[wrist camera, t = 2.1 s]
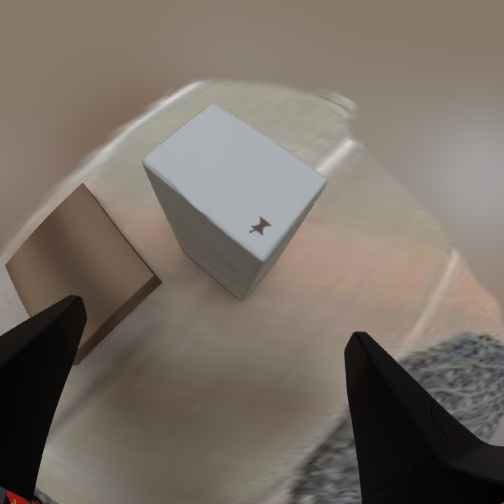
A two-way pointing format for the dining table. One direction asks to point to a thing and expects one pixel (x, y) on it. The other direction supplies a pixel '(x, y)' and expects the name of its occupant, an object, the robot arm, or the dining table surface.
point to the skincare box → (231, 196)
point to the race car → (20, 499)
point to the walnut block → (81, 267)
